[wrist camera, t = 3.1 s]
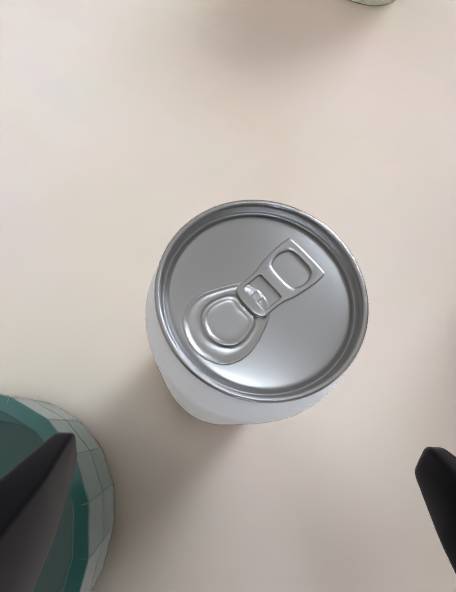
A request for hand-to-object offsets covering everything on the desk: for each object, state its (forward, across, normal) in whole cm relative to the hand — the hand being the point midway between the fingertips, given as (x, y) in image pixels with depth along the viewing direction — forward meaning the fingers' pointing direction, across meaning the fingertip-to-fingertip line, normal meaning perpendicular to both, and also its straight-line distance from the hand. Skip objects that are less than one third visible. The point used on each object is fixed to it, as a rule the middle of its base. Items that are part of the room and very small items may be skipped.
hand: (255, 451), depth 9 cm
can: (+10, 0, +5) cm, 11 cm away
